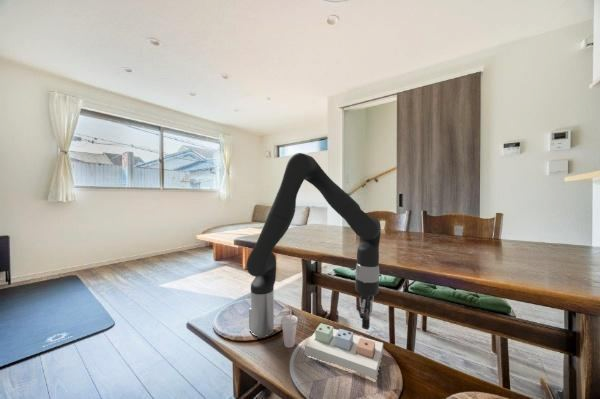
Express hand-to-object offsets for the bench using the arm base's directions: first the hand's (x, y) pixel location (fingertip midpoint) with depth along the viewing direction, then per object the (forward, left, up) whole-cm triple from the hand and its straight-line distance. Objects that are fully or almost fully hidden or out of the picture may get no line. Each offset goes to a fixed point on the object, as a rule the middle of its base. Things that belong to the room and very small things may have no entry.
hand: (365, 327), depth 78 cm
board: (-7, 0, -12) cm, 14 cm away
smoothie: (-27, -4, -12) cm, 30 cm away
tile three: (-7, 0, -10) cm, 13 cm away
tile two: (-15, 0, -10) cm, 18 cm away
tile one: (0, 0, -11) cm, 11 cm away
